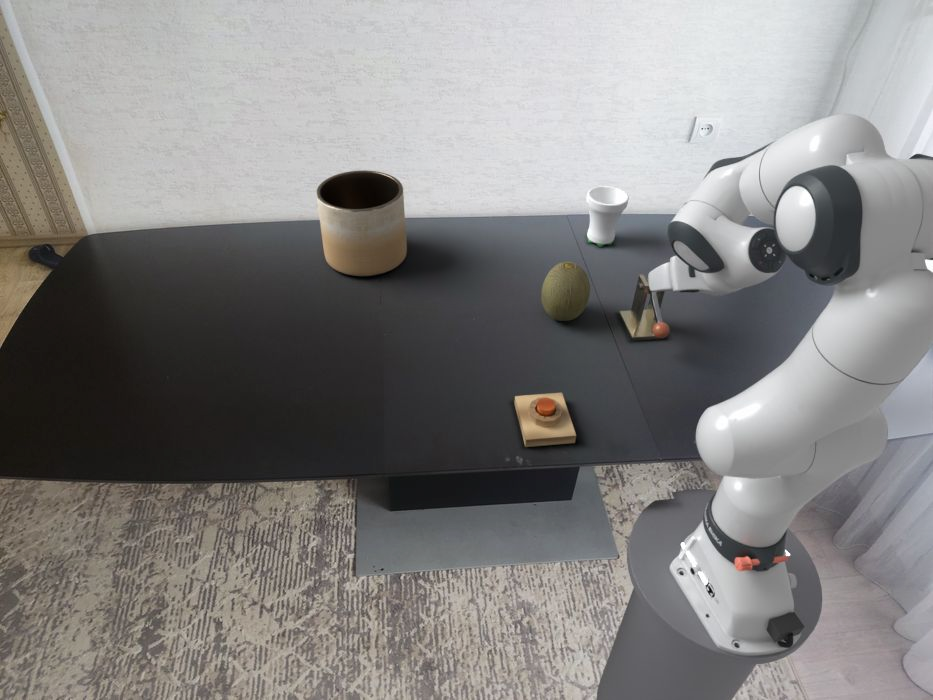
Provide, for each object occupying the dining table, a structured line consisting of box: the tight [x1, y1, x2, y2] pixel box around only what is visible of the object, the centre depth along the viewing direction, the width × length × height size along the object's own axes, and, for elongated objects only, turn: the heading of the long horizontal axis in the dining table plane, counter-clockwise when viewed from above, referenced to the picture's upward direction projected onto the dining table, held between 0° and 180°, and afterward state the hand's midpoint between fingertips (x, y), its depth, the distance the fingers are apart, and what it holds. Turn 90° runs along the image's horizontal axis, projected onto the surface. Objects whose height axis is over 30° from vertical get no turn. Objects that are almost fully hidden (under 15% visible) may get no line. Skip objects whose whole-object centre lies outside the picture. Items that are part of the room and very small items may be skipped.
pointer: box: [646, 278, 671, 339], centre depth 148 cm, size 14×4×4 cm, turn 7°
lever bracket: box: [618, 274, 666, 342], centre depth 153 cm, size 10×8×14 cm
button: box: [537, 398, 555, 417], centre depth 131 cm, size 4×4×2 cm
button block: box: [514, 392, 577, 448], centre depth 133 cm, size 12×10×4 cm
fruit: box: [541, 261, 591, 322], centre depth 156 cm, size 11×11×15 cm
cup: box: [585, 185, 630, 248], centre depth 182 cm, size 11×11×14 cm
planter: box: [316, 169, 408, 277], centre depth 172 cm, size 22×22×20 cm
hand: (687, 284), depth 131 cm, fingers closed
